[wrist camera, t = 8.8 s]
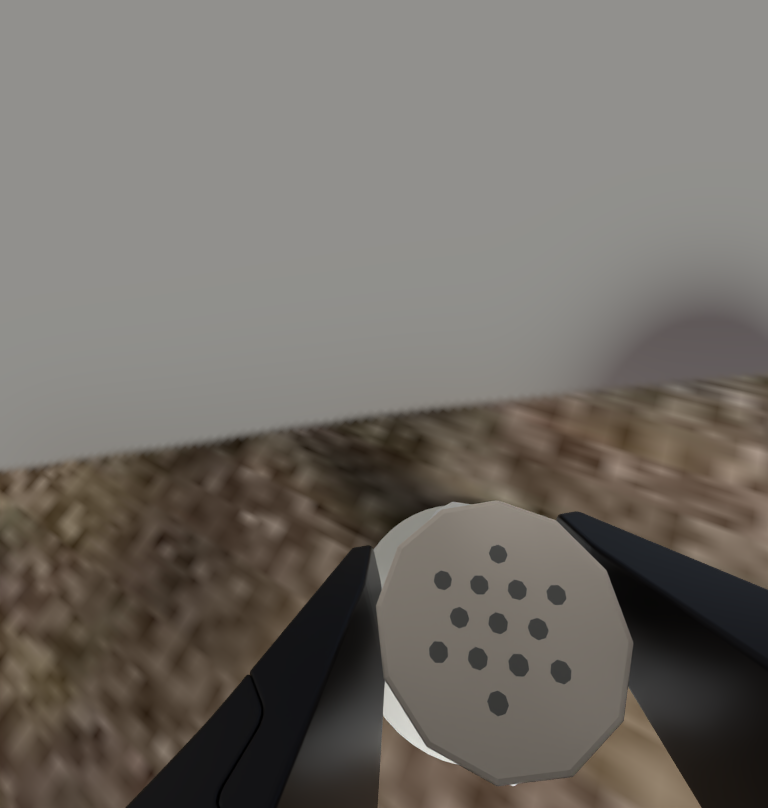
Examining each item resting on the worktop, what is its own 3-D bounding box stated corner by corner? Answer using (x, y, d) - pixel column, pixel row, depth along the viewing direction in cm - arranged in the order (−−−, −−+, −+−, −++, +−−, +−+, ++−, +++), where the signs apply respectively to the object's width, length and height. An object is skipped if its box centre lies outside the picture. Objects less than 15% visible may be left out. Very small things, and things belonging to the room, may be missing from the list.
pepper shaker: (552, 609, 13) (726, 589, 5) (488, 728, 12) (579, 964, 4) (449, 535, 15) (451, 426, 7) (383, 634, 14) (283, 655, 5)
